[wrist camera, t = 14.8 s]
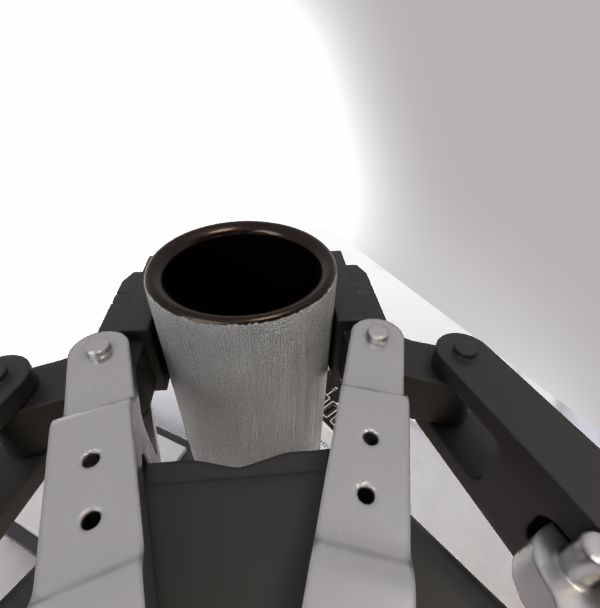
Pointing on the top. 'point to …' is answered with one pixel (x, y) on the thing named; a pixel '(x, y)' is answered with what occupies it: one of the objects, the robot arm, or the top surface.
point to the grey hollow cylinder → (245, 336)
